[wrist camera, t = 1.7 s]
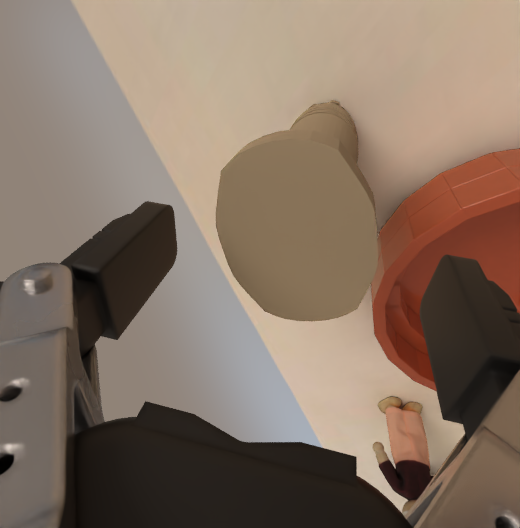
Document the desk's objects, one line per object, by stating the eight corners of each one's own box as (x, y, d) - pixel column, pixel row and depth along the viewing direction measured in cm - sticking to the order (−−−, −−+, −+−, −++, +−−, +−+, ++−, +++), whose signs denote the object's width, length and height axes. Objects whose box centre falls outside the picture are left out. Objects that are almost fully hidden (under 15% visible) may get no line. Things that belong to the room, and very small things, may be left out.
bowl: (412, 123, 21) (429, 153, 16) (740, 165, 19) (872, 215, 14) (348, 319, 32) (347, 372, 27) (552, 363, 29) (591, 429, 24)
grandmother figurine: (366, 411, 39) (370, 546, 29) (371, 391, 37) (378, 530, 27) (438, 423, 37) (469, 571, 27) (448, 404, 35) (485, 556, 25)
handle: (299, 177, 25) (248, 322, 13) (281, 81, 21) (190, 157, 10) (368, 166, 23) (382, 320, 11) (361, 61, 20) (369, 121, 8)
